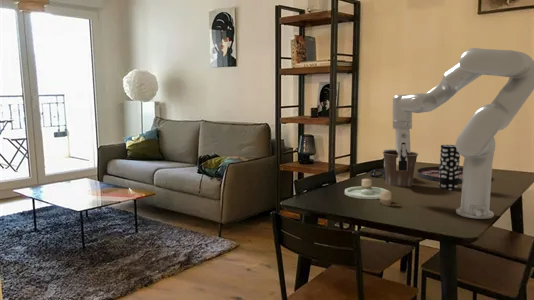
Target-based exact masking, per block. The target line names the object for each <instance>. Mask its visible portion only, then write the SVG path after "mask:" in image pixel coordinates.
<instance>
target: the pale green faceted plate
mask: <svg viewBox="0 0 534 300" xmlns="http://www.w3.org/2000/svg"><path fill="white" fill-rule="evenodd" d="M381 191H389V190H388V189H386V188H382V187H376V186H372V190H371V189H362V185H361V186H351V187H347V188H345V189H344V196H345V195H346V196H348V197H351V198H354V199H362V200H380V192H381Z"/></svg>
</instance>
